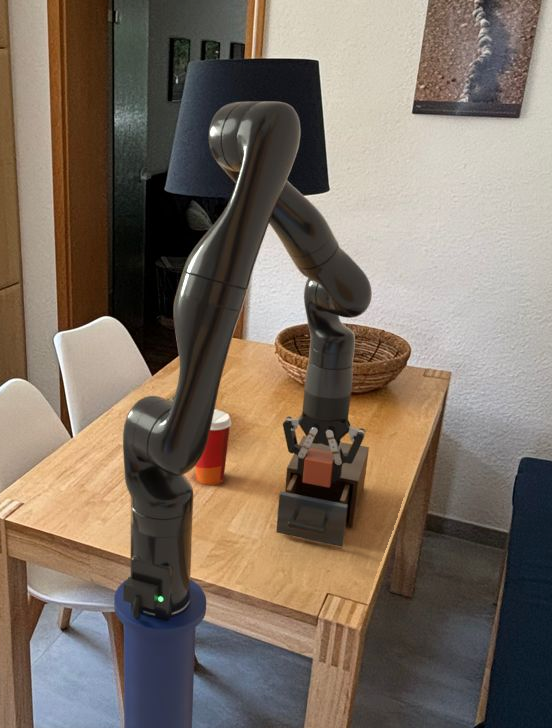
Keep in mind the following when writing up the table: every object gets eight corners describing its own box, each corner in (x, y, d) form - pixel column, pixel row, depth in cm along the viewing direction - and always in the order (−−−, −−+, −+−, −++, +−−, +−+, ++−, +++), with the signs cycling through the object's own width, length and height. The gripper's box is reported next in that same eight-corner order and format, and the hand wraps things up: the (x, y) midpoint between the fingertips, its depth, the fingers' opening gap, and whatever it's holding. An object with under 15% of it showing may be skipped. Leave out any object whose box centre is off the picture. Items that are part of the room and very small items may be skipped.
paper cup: (209, 465, 162) (211, 404, 157) (236, 479, 156) (240, 416, 151) (182, 477, 157) (184, 415, 152) (209, 492, 152) (212, 427, 147)
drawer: (337, 562, 128) (342, 521, 125) (269, 546, 133) (272, 507, 130) (353, 509, 144) (358, 472, 141) (292, 497, 148) (295, 460, 145)
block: (329, 487, 132) (332, 464, 130) (302, 482, 134) (304, 459, 132) (334, 476, 136) (336, 452, 134) (307, 471, 138) (309, 448, 136)
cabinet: (352, 527, 139) (358, 481, 136) (283, 513, 144) (286, 467, 141) (363, 490, 152) (369, 447, 148) (299, 478, 157) (303, 435, 153)
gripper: (279, 389, 128) (273, 479, 134) (369, 402, 122) (357, 496, 129) (289, 374, 134) (282, 461, 141) (375, 386, 129) (363, 476, 135)
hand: (318, 477), depth 135 cm, fingers closed on block, 4 cm apart
